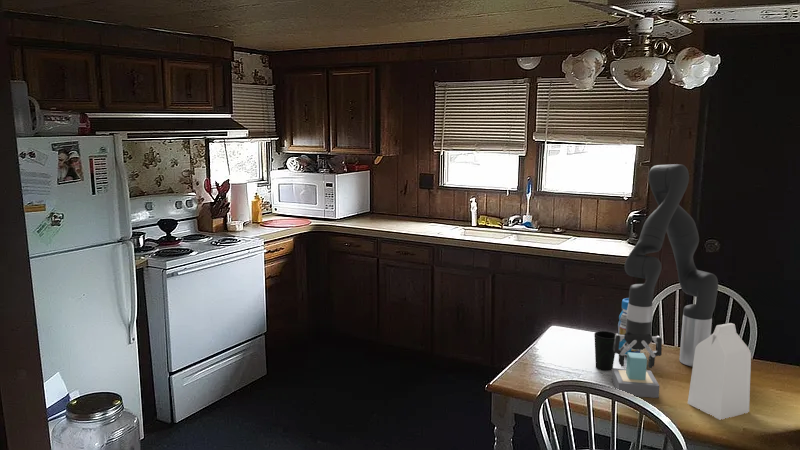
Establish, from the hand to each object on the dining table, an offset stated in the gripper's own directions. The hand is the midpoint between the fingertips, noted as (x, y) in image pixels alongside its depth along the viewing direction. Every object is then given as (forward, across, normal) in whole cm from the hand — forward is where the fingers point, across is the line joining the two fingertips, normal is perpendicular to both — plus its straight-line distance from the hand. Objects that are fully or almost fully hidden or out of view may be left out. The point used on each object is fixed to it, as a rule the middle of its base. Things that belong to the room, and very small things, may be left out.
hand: (636, 366), depth 201 cm
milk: (+8, -22, +10) cm, 25 cm away
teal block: (+3, 0, 0) cm, 3 cm away
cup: (+8, +7, -16) cm, 19 cm away
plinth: (+7, 0, 0) cm, 7 cm away
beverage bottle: (+8, -4, -32) cm, 33 cm away
